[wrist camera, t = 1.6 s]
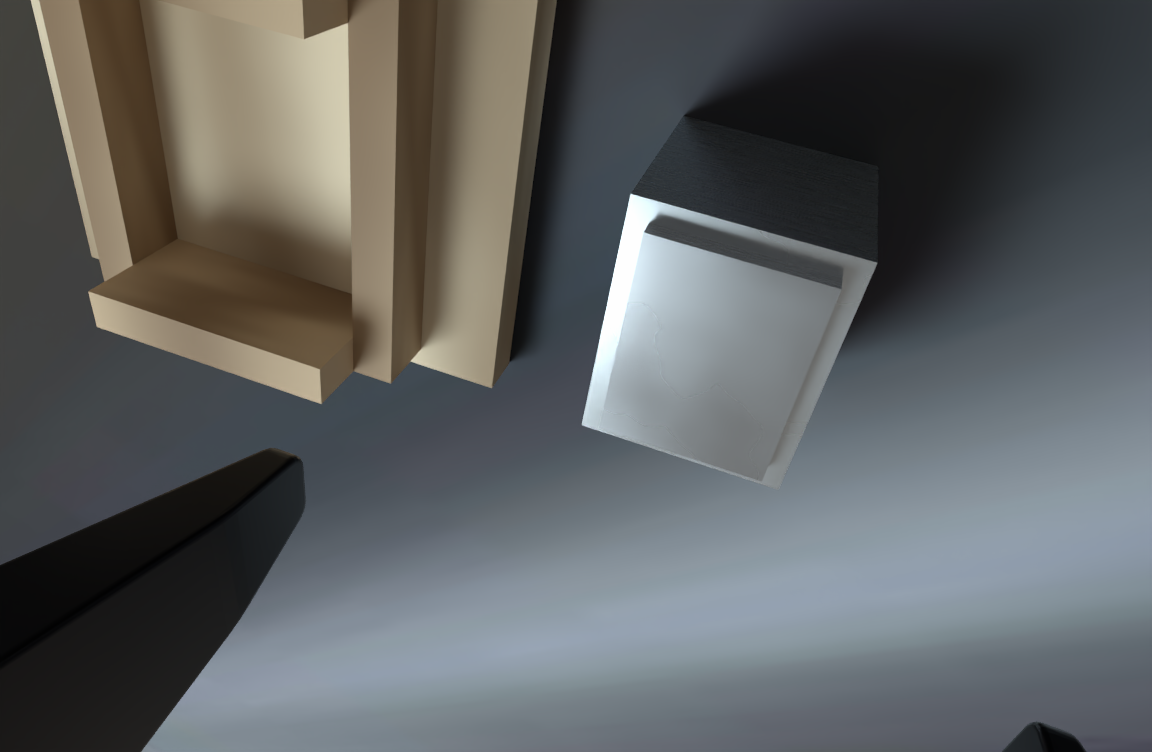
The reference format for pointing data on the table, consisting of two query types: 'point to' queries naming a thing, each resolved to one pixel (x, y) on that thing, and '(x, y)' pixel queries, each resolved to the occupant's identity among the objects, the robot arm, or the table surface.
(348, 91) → the chassis board
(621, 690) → the table surface
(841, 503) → the table surface
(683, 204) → the brushed metal cube
